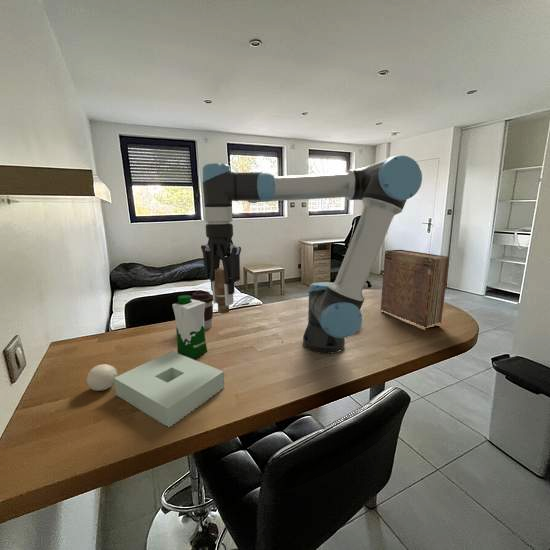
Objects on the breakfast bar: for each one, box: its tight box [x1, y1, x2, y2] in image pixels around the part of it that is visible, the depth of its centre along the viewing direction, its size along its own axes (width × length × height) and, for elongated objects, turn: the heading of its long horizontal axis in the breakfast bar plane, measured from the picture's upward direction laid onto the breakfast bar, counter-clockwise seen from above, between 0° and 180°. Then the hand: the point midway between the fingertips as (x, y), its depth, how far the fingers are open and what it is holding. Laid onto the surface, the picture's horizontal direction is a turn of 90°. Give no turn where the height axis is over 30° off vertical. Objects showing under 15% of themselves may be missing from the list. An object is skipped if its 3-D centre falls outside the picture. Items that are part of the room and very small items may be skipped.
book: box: [380, 249, 450, 327], centre depth 127 cm, size 25×9×30 cm, turn 23°
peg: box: [214, 267, 230, 314], centre depth 85 cm, size 4×4×13 cm
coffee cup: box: [190, 290, 214, 331], centre depth 120 cm, size 10×10×15 cm
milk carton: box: [172, 294, 208, 360], centre depth 97 cm, size 9×9×20 cm
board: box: [113, 350, 225, 428], centre depth 78 cm, size 22×18×5 cm
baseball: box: [86, 363, 119, 392], centre depth 79 cm, size 7×7×7 cm
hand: (223, 302), depth 85 cm, fingers closed on peg, 4 cm apart
